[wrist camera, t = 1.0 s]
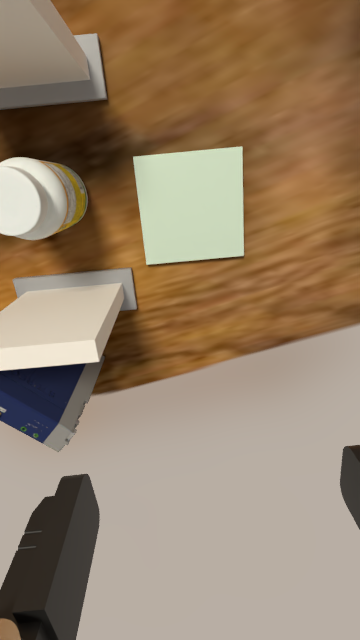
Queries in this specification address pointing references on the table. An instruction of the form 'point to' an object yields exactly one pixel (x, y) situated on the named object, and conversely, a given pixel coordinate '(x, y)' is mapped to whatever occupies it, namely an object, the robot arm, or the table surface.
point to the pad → (191, 204)
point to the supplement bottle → (39, 198)
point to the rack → (70, 288)
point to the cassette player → (47, 400)
